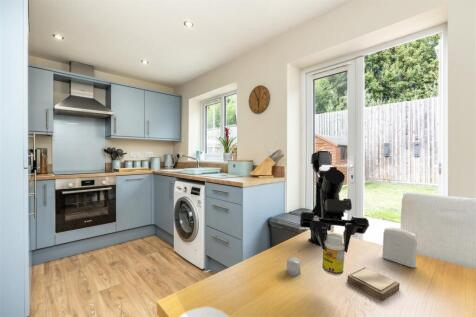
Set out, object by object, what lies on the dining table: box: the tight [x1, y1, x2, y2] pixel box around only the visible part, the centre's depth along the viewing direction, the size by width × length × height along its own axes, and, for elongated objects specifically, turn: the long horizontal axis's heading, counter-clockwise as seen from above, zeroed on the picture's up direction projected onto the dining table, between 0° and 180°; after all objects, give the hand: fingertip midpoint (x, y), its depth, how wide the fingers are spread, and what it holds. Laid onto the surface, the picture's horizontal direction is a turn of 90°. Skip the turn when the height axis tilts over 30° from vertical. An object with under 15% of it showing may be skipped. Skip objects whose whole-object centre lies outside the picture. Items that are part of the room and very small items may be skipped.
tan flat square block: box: [346, 266, 400, 302], centre depth 67 cm, size 10×10×2 cm
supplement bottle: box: [321, 233, 346, 277], centre depth 63 cm, size 6×6×10 cm
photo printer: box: [382, 226, 418, 269], centre depth 82 cm, size 10×4×12 cm, turn 39°
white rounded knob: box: [286, 257, 302, 277], centre depth 73 cm, size 4×4×4 cm
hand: (334, 250), depth 62 cm, fingers closed on supplement bottle, 6 cm apart
